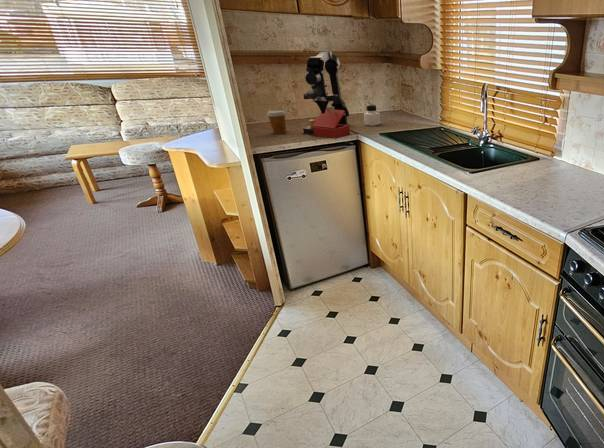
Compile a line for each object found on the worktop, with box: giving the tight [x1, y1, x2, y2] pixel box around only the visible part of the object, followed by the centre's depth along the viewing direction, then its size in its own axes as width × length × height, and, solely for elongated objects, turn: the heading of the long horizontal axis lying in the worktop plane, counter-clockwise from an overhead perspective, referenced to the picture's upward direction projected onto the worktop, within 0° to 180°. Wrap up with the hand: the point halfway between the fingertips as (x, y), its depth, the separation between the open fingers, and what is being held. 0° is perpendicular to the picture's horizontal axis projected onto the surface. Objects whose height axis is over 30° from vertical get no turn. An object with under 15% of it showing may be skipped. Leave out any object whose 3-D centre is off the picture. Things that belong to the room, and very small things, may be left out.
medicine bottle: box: [363, 104, 382, 127], centre depth 253 cm, size 7×7×12 cm
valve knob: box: [308, 118, 317, 128], centre depth 231 cm, size 4×4×4 cm
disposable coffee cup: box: [266, 109, 287, 135], centre depth 228 cm, size 10×10×12 cm
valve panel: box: [302, 125, 314, 136], centre depth 232 cm, size 10×9×3 cm
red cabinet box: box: [313, 124, 351, 139], centre depth 227 cm, size 13×15×5 cm
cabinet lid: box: [313, 105, 346, 129], centre depth 222 cm, size 13×15×5 cm
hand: (323, 113), depth 217 cm, fingers closed
